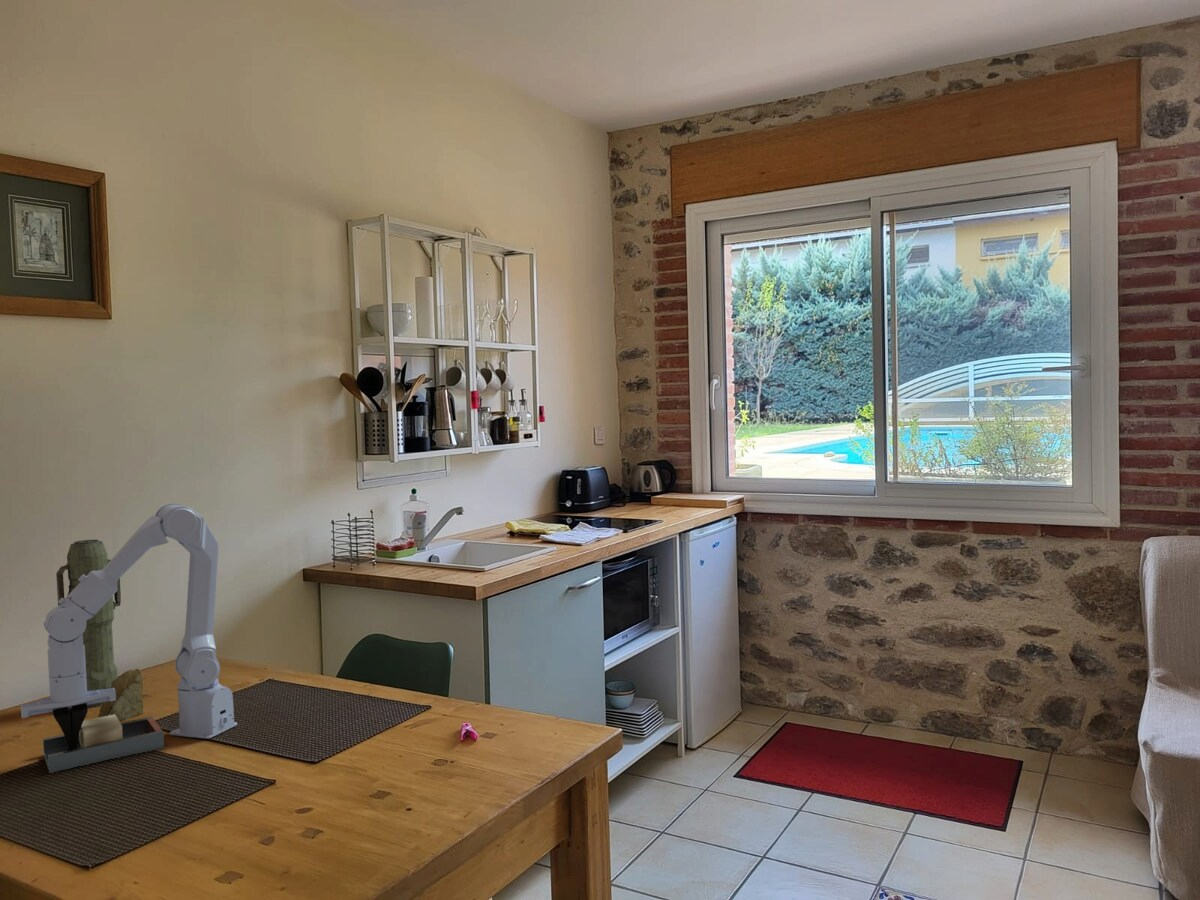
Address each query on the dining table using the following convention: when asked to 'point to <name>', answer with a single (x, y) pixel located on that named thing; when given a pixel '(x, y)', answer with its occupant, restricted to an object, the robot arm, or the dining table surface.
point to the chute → (104, 746)
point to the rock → (125, 696)
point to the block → (100, 730)
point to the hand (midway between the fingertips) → (71, 748)
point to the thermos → (99, 627)
